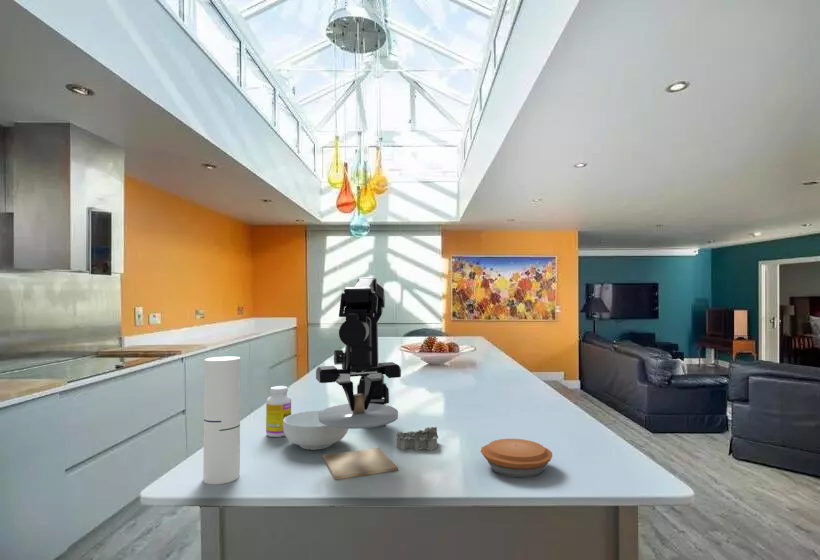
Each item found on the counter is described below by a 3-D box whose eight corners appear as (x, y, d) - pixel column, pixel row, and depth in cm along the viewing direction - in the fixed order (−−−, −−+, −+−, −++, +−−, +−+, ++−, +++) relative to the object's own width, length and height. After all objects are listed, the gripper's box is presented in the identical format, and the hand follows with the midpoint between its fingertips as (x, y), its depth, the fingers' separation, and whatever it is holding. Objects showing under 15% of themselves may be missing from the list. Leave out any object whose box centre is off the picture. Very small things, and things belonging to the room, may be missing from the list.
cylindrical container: (210, 471, 101) (211, 356, 102) (243, 470, 102) (244, 356, 102) (198, 485, 94) (199, 361, 95) (234, 483, 94) (235, 360, 95)
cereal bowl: (362, 444, 119) (362, 416, 119) (308, 461, 107) (308, 430, 107) (323, 431, 131) (323, 405, 131) (270, 445, 119) (270, 417, 119)
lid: (384, 404, 117) (384, 384, 118) (409, 423, 101) (409, 400, 101) (312, 411, 111) (312, 390, 111) (326, 432, 94) (326, 407, 94)
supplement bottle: (284, 438, 124) (284, 390, 124) (261, 437, 125) (261, 389, 126) (295, 431, 131) (295, 385, 131) (273, 430, 132) (273, 384, 132)
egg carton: (438, 442, 121) (438, 426, 121) (437, 452, 114) (437, 435, 114) (398, 440, 122) (398, 425, 123) (394, 450, 115) (394, 433, 115)
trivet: (379, 450, 114) (379, 447, 114) (398, 470, 101) (398, 467, 101) (322, 457, 109) (322, 455, 109) (334, 479, 96) (334, 476, 96)
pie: (566, 467, 103) (565, 445, 103) (528, 488, 92) (528, 463, 92) (507, 451, 114) (506, 430, 114) (467, 468, 103) (466, 445, 103)
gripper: (386, 336, 117) (386, 398, 117) (312, 339, 110) (312, 405, 110) (401, 341, 107) (401, 409, 106) (320, 344, 100) (320, 417, 100)
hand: (358, 410), depth 106 cm, fingers closed on lid, 3 cm apart
